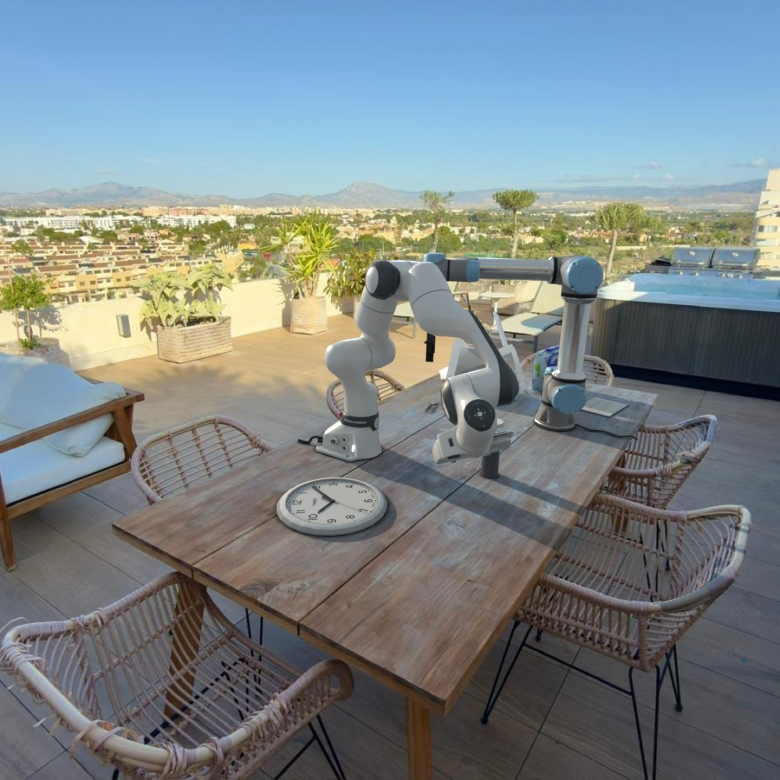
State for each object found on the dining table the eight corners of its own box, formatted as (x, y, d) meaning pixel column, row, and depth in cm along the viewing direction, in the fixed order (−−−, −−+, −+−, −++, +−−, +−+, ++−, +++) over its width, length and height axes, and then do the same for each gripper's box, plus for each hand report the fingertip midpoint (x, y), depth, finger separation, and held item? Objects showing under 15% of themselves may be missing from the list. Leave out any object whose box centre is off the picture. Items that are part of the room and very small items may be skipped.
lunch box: (548, 398, 236) (553, 353, 229) (527, 393, 243) (531, 349, 237) (575, 387, 253) (581, 344, 247) (555, 382, 260) (560, 341, 254)
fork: (422, 411, 216) (422, 407, 215) (433, 400, 230) (433, 396, 230) (428, 412, 215) (429, 407, 215) (438, 401, 230) (439, 396, 229)
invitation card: (608, 416, 214) (573, 407, 224) (608, 416, 214) (573, 408, 224) (628, 404, 229) (594, 396, 238) (628, 405, 229) (594, 397, 238)
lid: (488, 431, 154) (489, 425, 153) (479, 424, 160) (480, 418, 159) (506, 429, 156) (507, 423, 155) (497, 422, 161) (497, 416, 161)
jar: (485, 479, 159) (489, 426, 154) (477, 471, 164) (481, 420, 159) (500, 477, 161) (505, 424, 156) (492, 469, 165) (497, 418, 160)
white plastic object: (461, 429, 252) (437, 405, 227) (444, 352, 274) (420, 323, 250) (535, 404, 240) (518, 377, 215) (510, 326, 262) (492, 293, 237)
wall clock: (392, 527, 129) (268, 531, 127) (391, 533, 130) (269, 537, 127) (383, 473, 158) (282, 475, 155) (383, 478, 158) (282, 480, 156)
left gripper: (510, 418, 130) (503, 437, 143) (431, 435, 130) (430, 453, 142) (518, 441, 128) (510, 459, 140) (437, 459, 127) (436, 475, 139)
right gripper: (424, 293, 195) (422, 349, 202) (419, 302, 172) (417, 365, 178) (444, 294, 195) (441, 350, 201) (442, 303, 171) (439, 366, 177)
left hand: (469, 456), depth 141 cm, fingers open, 8 cm apart
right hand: (430, 357), depth 190 cm, fingers open, 13 cm apart
